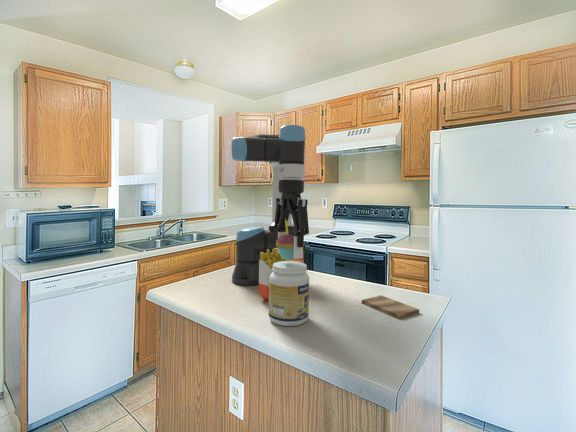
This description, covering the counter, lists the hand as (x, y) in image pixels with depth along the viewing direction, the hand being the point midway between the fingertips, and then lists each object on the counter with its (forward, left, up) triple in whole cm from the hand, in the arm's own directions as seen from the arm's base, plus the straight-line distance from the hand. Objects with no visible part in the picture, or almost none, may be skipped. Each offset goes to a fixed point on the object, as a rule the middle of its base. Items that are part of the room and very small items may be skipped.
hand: (289, 255), depth 93 cm
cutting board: (+9, +35, -20) cm, 41 cm away
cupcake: (0, 0, -1) cm, 1 cm away
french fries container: (-18, +5, -20) cm, 27 cm away
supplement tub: (0, 0, -20) cm, 20 cm away
